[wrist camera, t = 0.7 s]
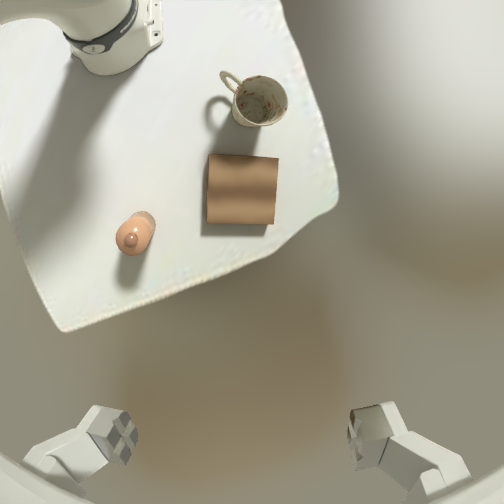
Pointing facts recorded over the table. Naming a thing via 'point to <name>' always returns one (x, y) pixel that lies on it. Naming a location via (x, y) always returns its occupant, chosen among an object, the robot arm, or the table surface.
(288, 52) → the table surface
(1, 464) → the robot arm
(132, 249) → the canister
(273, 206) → the pedestal
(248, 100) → the mug
